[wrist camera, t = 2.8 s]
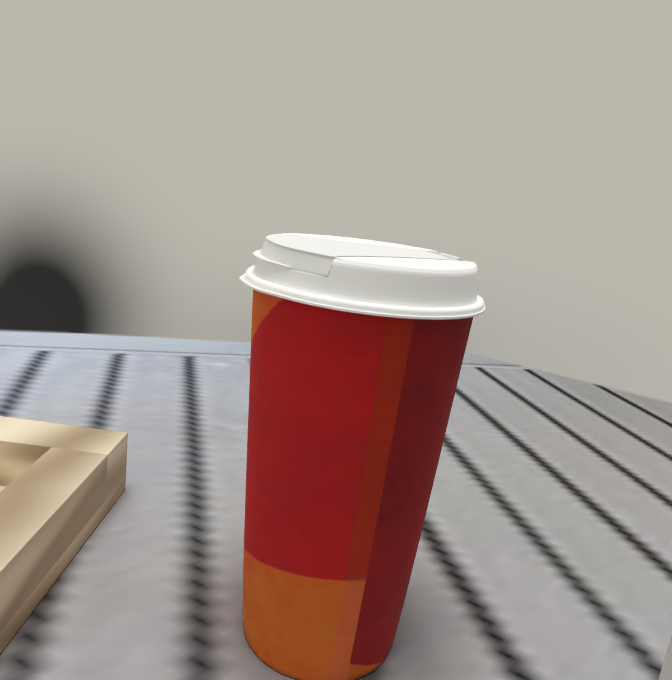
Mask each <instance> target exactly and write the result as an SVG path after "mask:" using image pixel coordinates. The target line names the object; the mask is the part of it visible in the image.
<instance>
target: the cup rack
mask: <svg viewBox="0 0 672 680" xmlns="http://www.w3.org/2000/svg"><path fill="white" fill-rule="evenodd" d="M127 438H128V433H125V432H118V431H110V430H102V429H94V428H87V427H79V426H71V425H64V424H56V423H48V422H40V421H33V420H25V419H17V418H10V417H2V416H0V654H1V653H2V651H3V650H4V649H5V647H6V646H7V645H8V643H9V642H10V641H11V639H12V638H13V637H14V635H15V634H16V633H17V631H18V630H19V629H20V627H21V626H22V625H23V624H24V622H25V621H26V620H27V618H28V617H29V616H30V614H31V613H32V612H33V610H34V609H35V608H36V606H37V605H38V604H39V602H40V601H41V600H42V598H43V597H44V596H45V594H46V593H47V592H48V591H49V589H50V588H51V587H52V585H53V584H54V583H55V581H56V580H57V579H58V577H59V576H60V575H61V573H62V572H63V571H64V569H65V568H66V567H67V565H68V564H69V563H70V561H71V560H72V559H73V558H74V556H75V555H76V554H77V552H78V551H79V550H80V548H81V547H82V546H83V544H84V543H85V542H86V540H87V539H88V538H89V536H90V535H91V534H92V532H93V531H94V530H95V528H96V527H97V526H98V525H99V523H100V522H101V521H102V519H103V518H104V517H105V515H106V514H107V513H108V511H109V510H110V509H111V507H112V506H113V505H114V503H115V502H116V501H117V499H118V498H119V497H120V495H121V494H122V493H123V492H124V490H125V481H126V459H127Z"/></svg>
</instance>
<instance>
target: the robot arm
mask: <svg viewBox="0 0 672 680" xmlns="http://www.w3.org/2000/svg"><path fill="white" fill-rule="evenodd" d="M659 680H672V636H671V639H670V643H669V646H668V649H667V653H666V656H665V659H664V663H663V666H662V670H661V673H660V676H659Z"/></svg>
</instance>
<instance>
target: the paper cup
mask: <svg viewBox="0 0 672 680" xmlns="http://www.w3.org/2000/svg"><path fill="white" fill-rule="evenodd" d="M253 257H255V258H256V259H257V260H256V264H255V265H254V266H251V267H250V268H249V269H247V271H246V273H245V274H244V275H242V276H241V277H240V278H239V279H240V281H241V282H242V283H243V284H245V285H246V286H248V287H250V288H252V289H253V307H252V334H251V361H250V389H249V416H248V443H247V471H246V500H245V531H244V566H243V625H244V632H245V636H246V639H247V642H248V644H249V646H250V647H251V649H252V650H253V652H254V653H255V654H256V655H257V656H258V657H259V658H260V659H261V660H262V661H263V662H264V663H265V664H267V665H268V666H269V667H271V668H272V669H274V670H276V671H278V672H280V673H282V674H284V675H286V676H288V677H291V678H294V679H298V680H355V679H358V678H361V677H363V676H365V675H367V674H369V673H371V672H372V671H374V670H375V669H376V668H377V667H379V666H380V665H381V664H382V662H383V661H384V660H385V659H386V657H387V655H388V653H389V651H390V649H391V646H392V643H393V640H394V637H395V633H396V630H397V626H398V623H399V619H400V615H401V611H402V608H403V604H404V600H405V596H406V592H407V588H408V584H409V580H410V576H411V572H412V568H413V564H414V560H415V556H416V552H417V548H418V544H419V540H420V536H421V531H422V527H423V523H424V519H425V515H426V511H427V507H428V503H429V499H430V494H431V490H432V486H433V482H434V478H435V474H436V470H437V465H438V461H439V457H440V453H441V449H442V445H443V440H444V436H445V432H446V428H447V424H448V420H449V415H450V411H451V407H452V403H453V399H454V395H455V390H456V386H457V382H458V378H459V374H460V370H461V365H462V361H463V357H464V353H465V348H466V345H467V340H468V336H469V332H470V328H471V324H472V320H473V317H474V316H478V315H480V314H482V313H483V312H484V311H485V309H486V308H485V305H484V301H483V299H482V298H481V297H480V296H479V295H477V290H478V270H477V267H476V264H475V263H474V262H467V261H464V260H463V259H461V258H459V257H455V256H452V255H449V254H445V253H440V254H439V252H437V251H433V250H429V249H423V248H418V247H412V246H406V245H401V244H394V243H388V242H381V241H373V240H365V239H357V238H347V237H338V236H328V235H314V234H290V233H287V234H286V233H285V234H273V235H268V236H266V240H265V242H264V245H263V247H262V249H261V250H257V251H255V252H253Z"/></svg>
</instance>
